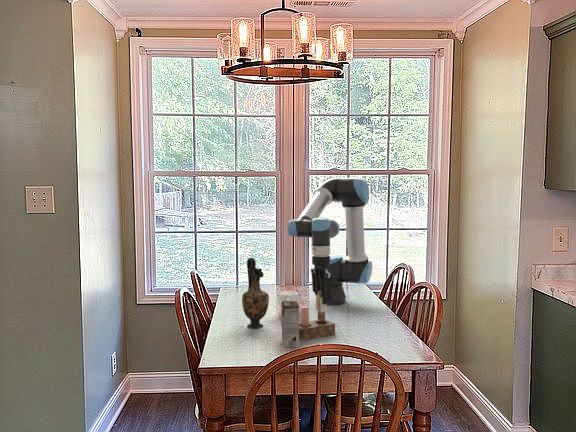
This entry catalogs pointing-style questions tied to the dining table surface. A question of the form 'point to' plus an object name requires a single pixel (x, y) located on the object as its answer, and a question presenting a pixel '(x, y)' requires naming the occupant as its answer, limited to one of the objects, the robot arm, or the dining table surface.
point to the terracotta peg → (304, 316)
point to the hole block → (316, 329)
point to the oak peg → (320, 314)
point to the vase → (254, 296)
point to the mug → (288, 297)
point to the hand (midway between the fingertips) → (321, 310)
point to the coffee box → (290, 323)
